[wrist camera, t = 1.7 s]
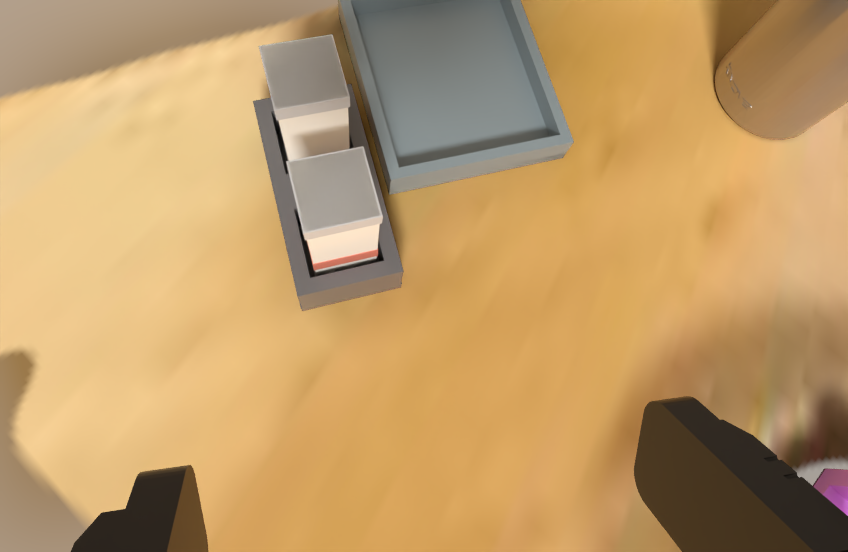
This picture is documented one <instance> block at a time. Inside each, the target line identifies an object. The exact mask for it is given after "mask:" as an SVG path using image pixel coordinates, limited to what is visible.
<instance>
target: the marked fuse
mask: <svg viewBox="0 0 848 552" xmlns="http://www.w3.org/2000/svg"><path fill="white" fill-rule="evenodd" d="M286 163H287V167H288V171H289V176H290V180H291V184H292V188H293V193H294V197H295V201H296V205H297V209H298V214H299V218H300V222H301V226H302V230H303V235H304V238H305V240H307V244H308V249H309V253H310V257H311V261H312V265H313V270H314V274H315V277H316V276H320V275H325V274H329V273H333V272H338V271H342V270H346V269H351V268H355V267H359V266H363V265H368V264H372V263H376V259H377V256H378V237H379V226H380V224H382V219H383V215H382V212H381V208H380V205H379V201H378V197H377V194H376V190H375V186H374V183H373V179H372V176H371V172H370V168H369V165H368V161H367V157H366V154H365V150H364V147H363V146H362V147H357V148H351V149H346V150H341V151H336V152H331V153H326V154H321V155H316V156H311V157H305V158H300V159H295V160H290V161H286Z"/></svg>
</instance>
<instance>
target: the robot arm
mask: <svg viewBox="0 0 848 552" xmlns="http://www.w3.org/2000/svg"><path fill="white" fill-rule="evenodd" d="M715 87H716V92H717V95H718V98H719V101H720V103H721V104H722V106H723V108H724V110H725V111H726V112H727V114H728V115H729V116H730V117H731V118H732V119H733V120H734V121H735V122H736V123H737V124H738V125H740V126H741V127H742V128H744V129H746V130H747V131H749V132H751V133H752V134H755V135H758V136H760V137H763V138H768V139H774V140H783V139H789V138H793V137H796V136H798V135H800V134H802V133H804V132H805V131H807V130H808V129H809V128H811V127H812V126H814V125H815V124H817V123H818V122H819V121H821V120H822V119H824V118H825V117H827V116H828V115H829V114H831V113H832V112H834V111H835V110H837V109H838V108H840V107H841V106H843V105H844V104H846V103H847V102H848V0H777V1H776V2H775V3H774V4H773V5H772V6H771V8H770V9H769V10H768V11H767V12H766V13H765V14H764V15H763V16H762V17H761V18H760V19H759V20H758V21H757V22H756V23H755V24H754V25H753V26H752V27H751V28H750V29H749V31H748V32H747V33H746V34H745V35H744V36H743V37H742V38H741V39H740V40H739V41H738V42H737V43H736V44H735V45H734V46H733V47H732V49H731V50H730V51H729V52H728V53H727V54H726V55H725V56H724V57H723V59H722V60H721V61H720V63H719V65H718V67H717V70H716V75H715ZM634 476H635V482H636V486H637V489H638V492H639V494H640V496H641V498H642V500H643V501H644V503H645V504H646V505H647V507H648V508H649V509H650V511H651V512H652V513H653V514H654V516H655V517H656V518H657V520H658V521H659V522H660V524H661V525H662V526H663V527H664V529H665V530H666V531H667V533H668V534H669V535H670V536H671V538H672V539H673V540H674V542H675V543H676V544H677V546H678V547H679V548H680V549H681V551H682V552H848V516H847V515H846V514H845V513H844V512H843V511H841V510H840V509H839V508H838V507H837V506H835V505H834V504H833V503H832V502H831V501H830V500H828V499H827V498H826V497H825V496H824V495H822V494H821V493H820V492H819V491H818V490H817V489H815V488H814V487H813V486H812V485H811V484H810V483H808V482H807V481H806V480H805V479H804V478H802V477H800V478H799V477H798V476H797V472H795V471H794V470H793V469H792V468H791V467H789V466H788V465H787V464H786V463H785V462H784V461H782V460H778V459H777V455H775V454H774V453H773V452H772V451H771V450H769V449H768V448H767V447H766V446H765V445H764V444H762V443H761V442H760V441H759V440H758V439H756V438H755V437H754V436H753V435H751V434H749V433H747V432H745V431H743V430H742V429H740V428H738V427H736V426H734V425H732V424H730V423H728V422H726V421H724V420H719V419H718V418H717V417H716V416H715V415H714V414H713V413H711V412H710V411H709V410H708V409H707V408H706V407H705V406H703V405H702V404H701V403H700V402H699V401H698V400H696V399H695V398H693V397H689V396H686V397H679V398H672V399H665V400H658V401H652V402H649V403H648V404H647V406H646V407H645V410H644V414H643V420H642V425H641V431H640V437H639V443H638V449H637V454H636V460H635V466H634ZM71 552H208V542H207V535H206V530H205V524H204V519H203V514H202V509H201V504H200V499H199V493H198V488H197V483H196V478H195V473H194V470H193V468H192V466H191V465H187V466H180V467H173V468H166V469H159V470H152V471H145V472H140V473H139V474H138V476H137V478H136V480H135V483H134V486H133V489H132V492H131V495H130V497H129V500H128V503H127V506H126V509H123V510H116V511H110V512H103V513H101V514H100V515H99V516H98V517H97V518H96V519H95V521H94V522H93V523H92V524H91V525H90V526H89V527H88V528H87V530H86V531H85V532H84V533H83V534H82V535H81V536H80V537H79V539H78V540H77V541H76V542H75V543H74V545H73V548H72V550H71Z"/></svg>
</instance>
